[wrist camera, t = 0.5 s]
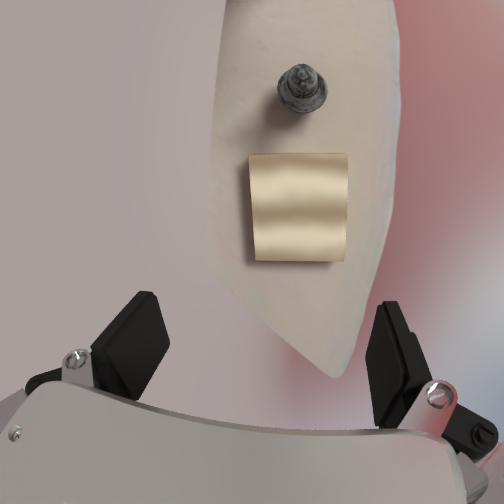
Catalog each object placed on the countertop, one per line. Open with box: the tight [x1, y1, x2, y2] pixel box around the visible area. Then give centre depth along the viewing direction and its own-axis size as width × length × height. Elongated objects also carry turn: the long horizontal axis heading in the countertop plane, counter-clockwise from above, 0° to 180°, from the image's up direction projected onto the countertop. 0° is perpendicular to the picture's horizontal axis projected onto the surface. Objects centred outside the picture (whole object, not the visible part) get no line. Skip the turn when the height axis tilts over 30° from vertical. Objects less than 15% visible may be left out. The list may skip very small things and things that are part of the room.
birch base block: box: [248, 153, 348, 262], centre depth 35 cm, size 14×12×3 cm
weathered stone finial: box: [277, 64, 328, 113], centre depth 25 cm, size 6×6×12 cm
